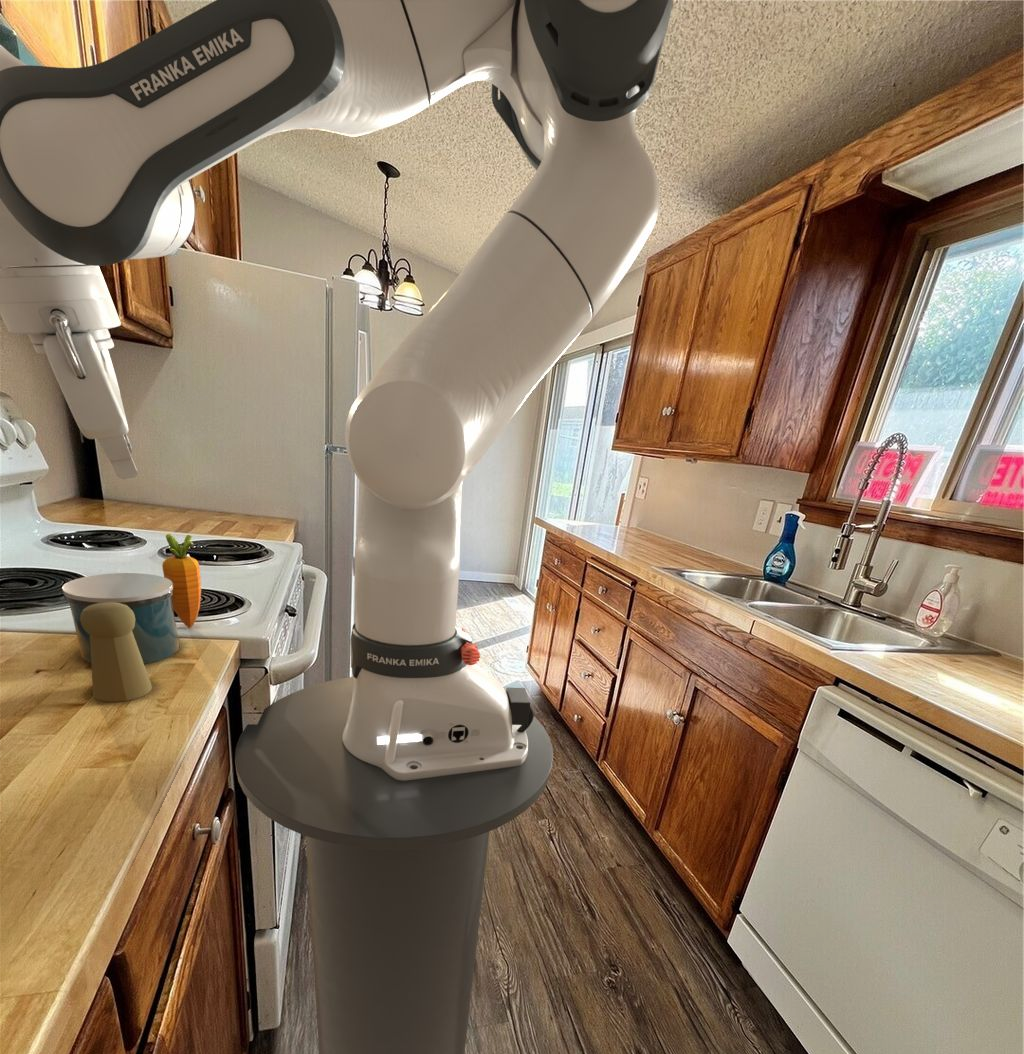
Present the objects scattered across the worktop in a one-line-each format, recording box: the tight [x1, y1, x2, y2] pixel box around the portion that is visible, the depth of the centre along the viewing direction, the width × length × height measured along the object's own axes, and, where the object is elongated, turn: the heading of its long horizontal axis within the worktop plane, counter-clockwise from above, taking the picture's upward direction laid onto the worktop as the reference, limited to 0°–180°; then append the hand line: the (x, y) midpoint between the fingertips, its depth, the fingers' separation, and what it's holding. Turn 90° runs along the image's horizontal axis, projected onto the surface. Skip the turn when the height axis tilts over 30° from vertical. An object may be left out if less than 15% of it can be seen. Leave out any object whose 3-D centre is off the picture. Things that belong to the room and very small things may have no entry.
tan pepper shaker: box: [80, 602, 153, 703], centre depth 66 cm, size 6×6×11 cm
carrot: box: [161, 533, 202, 629], centre depth 86 cm, size 5×5×15 cm
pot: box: [61, 572, 180, 665], centre depth 77 cm, size 12×12×10 cm
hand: (126, 464), depth 58 cm, fingers open, 8 cm apart
